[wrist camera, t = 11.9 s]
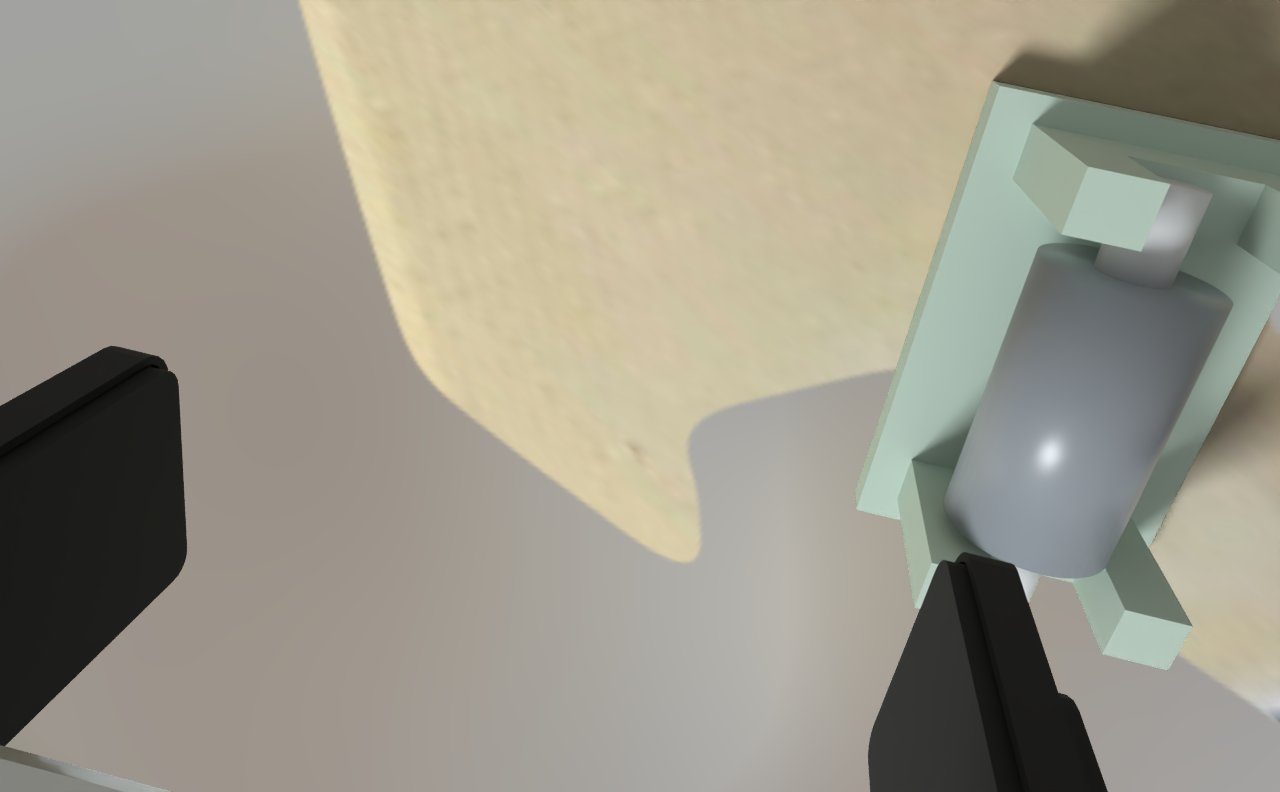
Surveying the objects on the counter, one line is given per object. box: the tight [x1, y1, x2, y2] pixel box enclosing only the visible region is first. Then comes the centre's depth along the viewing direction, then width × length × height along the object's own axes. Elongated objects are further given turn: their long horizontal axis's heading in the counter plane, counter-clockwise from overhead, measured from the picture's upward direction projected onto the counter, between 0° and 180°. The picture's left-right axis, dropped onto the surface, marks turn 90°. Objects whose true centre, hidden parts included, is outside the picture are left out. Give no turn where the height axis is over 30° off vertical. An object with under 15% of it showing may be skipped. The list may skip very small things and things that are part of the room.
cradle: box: [855, 81, 1280, 670], centre depth 34 cm, size 18×12×9 cm, turn 170°
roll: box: [943, 176, 1234, 603], centre depth 33 cm, size 16×6×6 cm, turn 170°
